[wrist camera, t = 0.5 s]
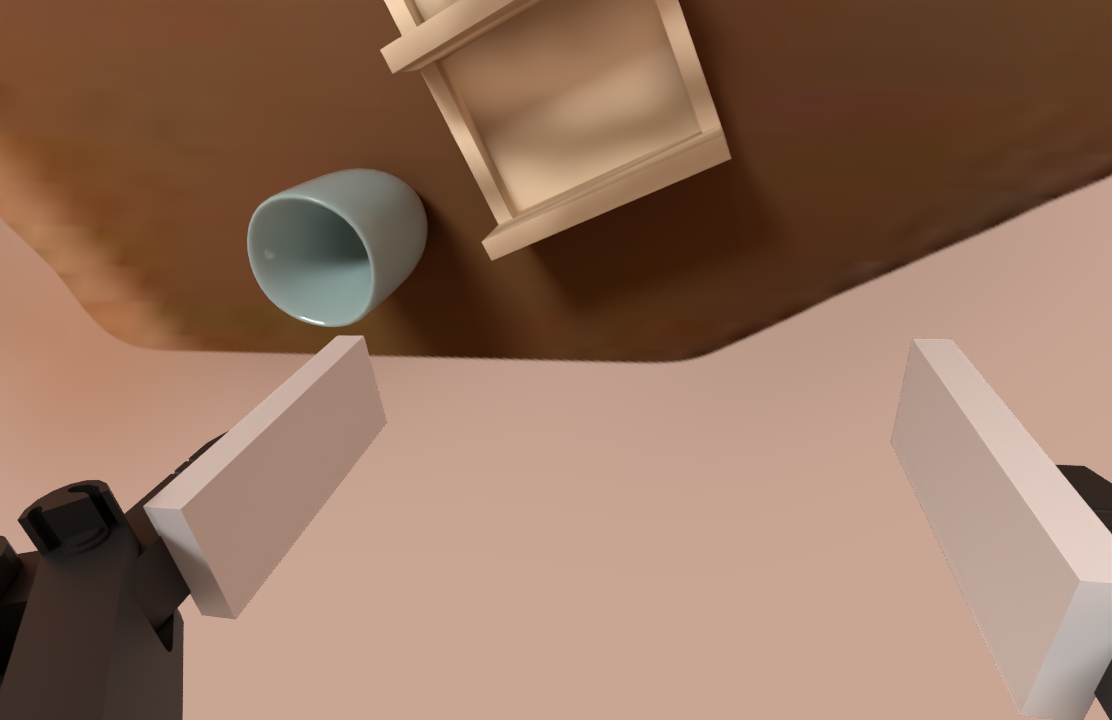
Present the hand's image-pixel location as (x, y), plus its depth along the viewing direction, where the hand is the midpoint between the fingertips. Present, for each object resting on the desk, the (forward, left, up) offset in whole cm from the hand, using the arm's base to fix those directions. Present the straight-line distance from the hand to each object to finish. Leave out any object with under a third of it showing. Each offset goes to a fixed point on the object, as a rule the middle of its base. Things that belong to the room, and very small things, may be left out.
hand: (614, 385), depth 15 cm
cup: (-5, -18, -26) cm, 32 cm away
